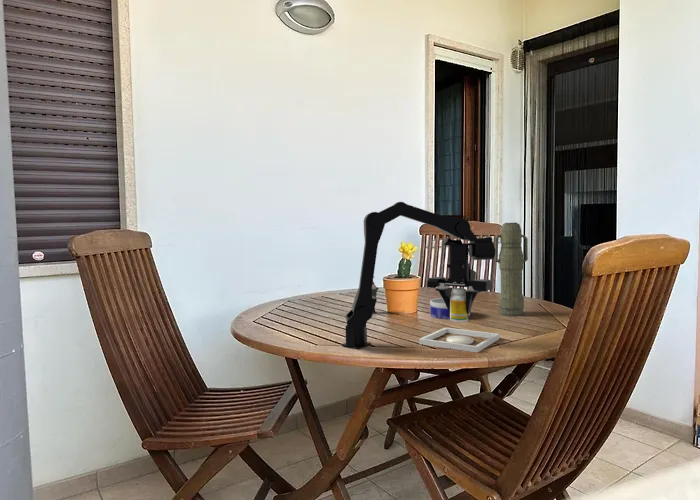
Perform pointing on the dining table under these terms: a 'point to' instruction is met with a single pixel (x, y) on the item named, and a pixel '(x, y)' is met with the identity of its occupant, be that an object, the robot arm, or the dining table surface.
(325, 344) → the dining table surface
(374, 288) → the sundae
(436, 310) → the dog bowl
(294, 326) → the dining table surface
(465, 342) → the plinth
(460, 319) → the supplement bottle
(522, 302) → the thermos
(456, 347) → the corral
